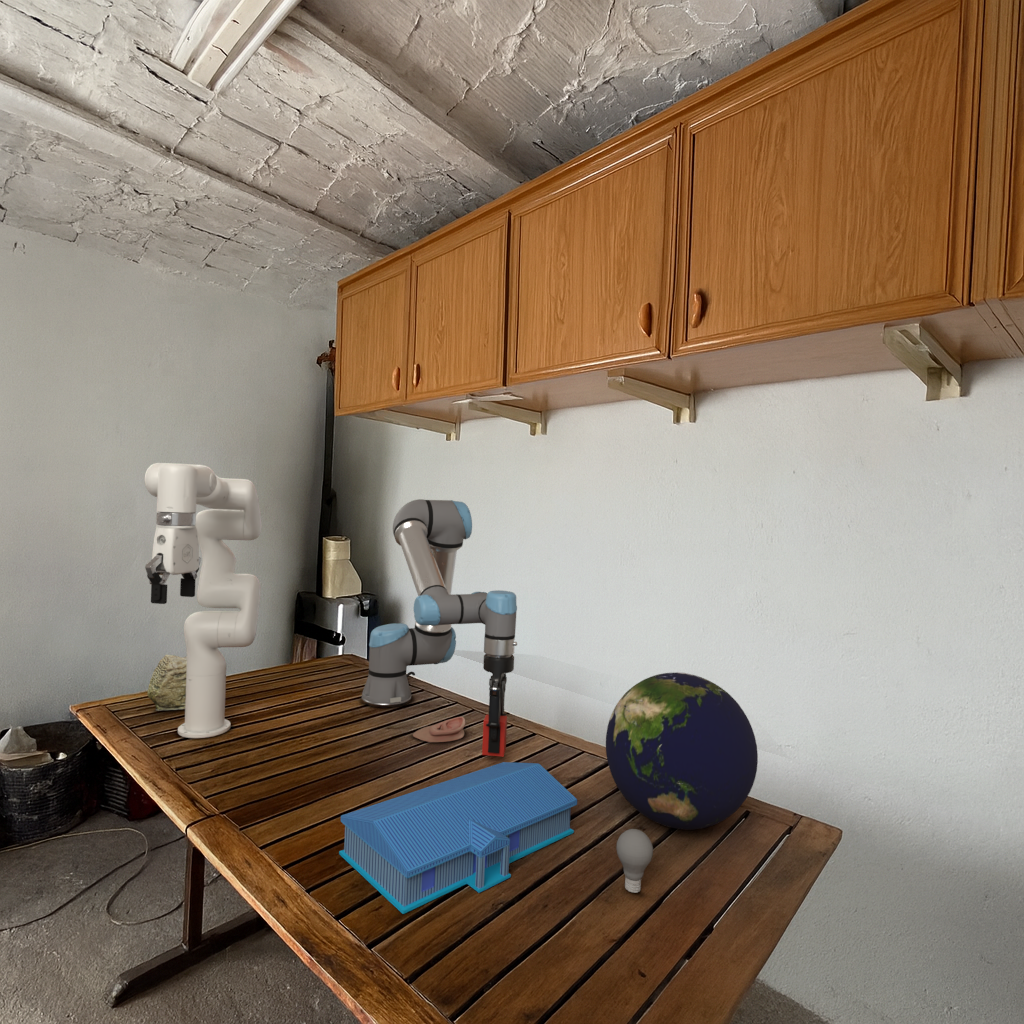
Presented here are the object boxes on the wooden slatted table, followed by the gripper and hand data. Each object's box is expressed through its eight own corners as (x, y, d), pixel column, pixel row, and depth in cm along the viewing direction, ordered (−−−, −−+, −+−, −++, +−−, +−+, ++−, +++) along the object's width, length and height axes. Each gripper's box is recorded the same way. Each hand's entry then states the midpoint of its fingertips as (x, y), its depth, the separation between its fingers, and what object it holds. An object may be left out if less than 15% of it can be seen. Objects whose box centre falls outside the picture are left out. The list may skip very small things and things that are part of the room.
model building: (414, 925, 95) (417, 859, 95) (337, 852, 113) (340, 797, 113) (586, 839, 121) (589, 787, 121) (502, 791, 139) (504, 746, 139)
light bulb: (610, 879, 108) (613, 822, 108) (644, 879, 109) (647, 822, 109) (619, 902, 102) (622, 840, 102) (655, 901, 103) (658, 840, 103)
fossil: (144, 707, 182) (145, 655, 182) (212, 696, 194) (213, 647, 194) (151, 716, 175) (153, 662, 175) (221, 703, 188) (223, 653, 188)
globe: (585, 837, 122) (592, 682, 121) (619, 777, 149) (625, 650, 149) (751, 879, 110) (760, 708, 110) (755, 805, 138) (762, 668, 138)
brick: (482, 755, 155) (483, 720, 154) (484, 747, 159) (486, 714, 159) (503, 756, 154) (505, 722, 154) (505, 749, 159) (507, 716, 158)
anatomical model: (408, 724, 167) (423, 710, 178) (408, 739, 167) (423, 724, 178) (457, 730, 164) (469, 716, 175) (456, 745, 164) (468, 730, 175)
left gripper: (166, 522, 127) (163, 607, 128) (215, 520, 145) (212, 595, 145) (132, 521, 128) (129, 605, 129) (184, 518, 145) (182, 593, 146)
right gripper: (510, 664, 147) (506, 764, 147) (517, 647, 165) (513, 736, 165) (478, 662, 148) (474, 761, 148) (489, 645, 165) (485, 733, 166)
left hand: (173, 599), depth 137 cm, fingers open, 9 cm apart
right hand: (495, 747), depth 157 cm, fingers closed on brick, 5 cm apart
